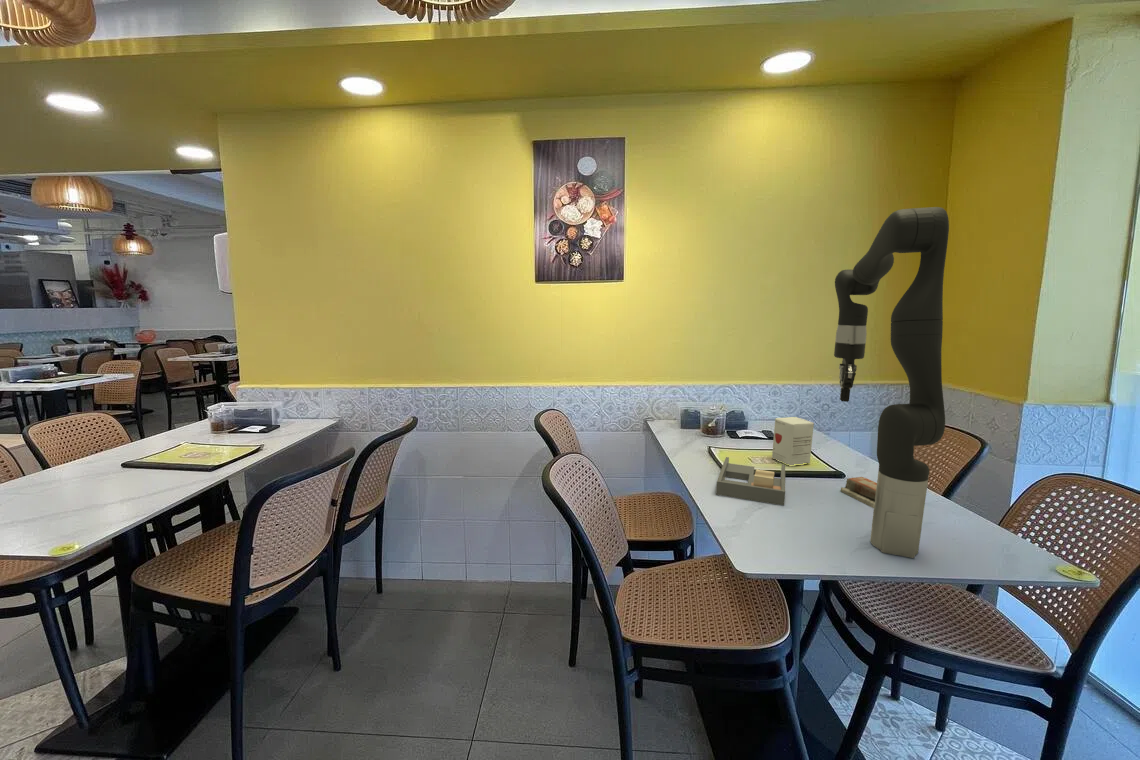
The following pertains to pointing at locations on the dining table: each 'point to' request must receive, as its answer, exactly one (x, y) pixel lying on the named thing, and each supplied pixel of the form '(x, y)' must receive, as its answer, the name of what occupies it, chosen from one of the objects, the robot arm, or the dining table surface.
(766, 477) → the block
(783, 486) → the box
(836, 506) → the dining table surface
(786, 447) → the supplement box
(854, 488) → the packaged product
